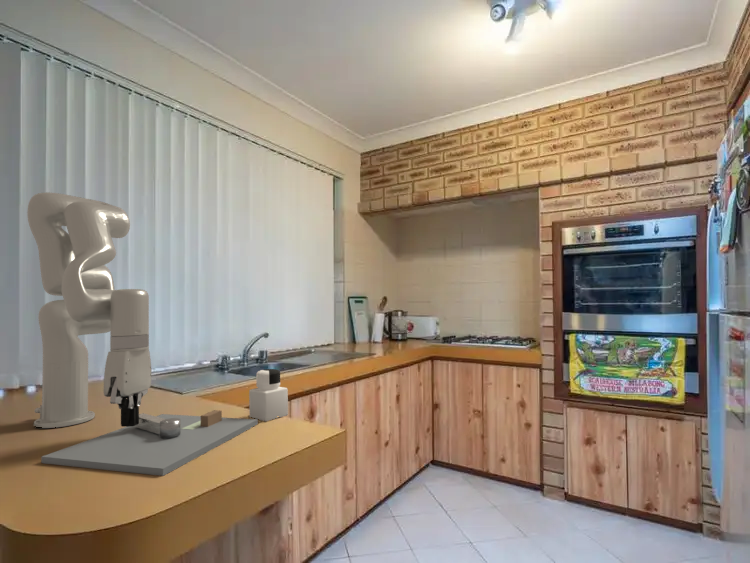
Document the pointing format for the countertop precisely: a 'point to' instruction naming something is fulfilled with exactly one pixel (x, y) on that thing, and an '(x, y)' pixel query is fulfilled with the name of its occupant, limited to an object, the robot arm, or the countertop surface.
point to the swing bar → (160, 425)
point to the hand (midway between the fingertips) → (129, 425)
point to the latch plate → (152, 445)
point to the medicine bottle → (268, 396)
